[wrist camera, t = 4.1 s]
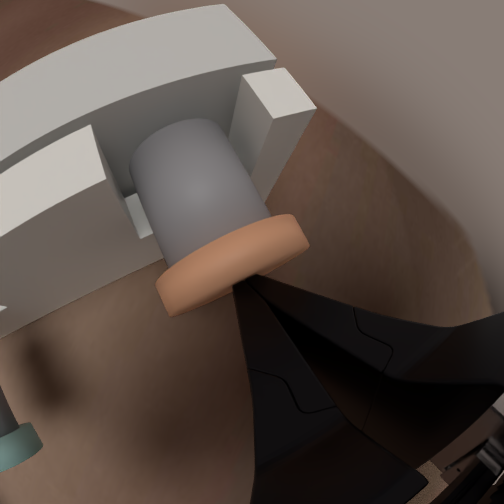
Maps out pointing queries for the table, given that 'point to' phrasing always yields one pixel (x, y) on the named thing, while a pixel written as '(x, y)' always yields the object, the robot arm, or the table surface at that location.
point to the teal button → (15, 438)
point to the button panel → (123, 145)
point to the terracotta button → (206, 215)
